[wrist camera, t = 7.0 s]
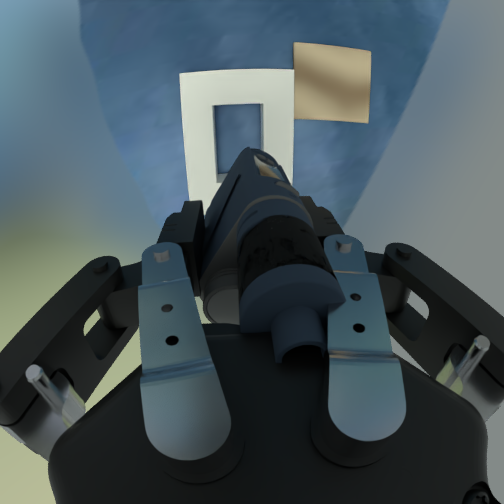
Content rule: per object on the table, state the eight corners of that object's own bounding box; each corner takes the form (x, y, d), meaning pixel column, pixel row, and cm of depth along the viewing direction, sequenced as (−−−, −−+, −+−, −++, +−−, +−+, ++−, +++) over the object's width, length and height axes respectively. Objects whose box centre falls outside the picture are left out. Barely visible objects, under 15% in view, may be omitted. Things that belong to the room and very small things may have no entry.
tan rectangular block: (292, 43, 24) (294, 42, 24) (368, 51, 24) (370, 51, 24) (292, 118, 28) (294, 118, 28) (365, 122, 29) (368, 123, 28)
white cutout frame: (184, 74, 25) (179, 73, 23) (288, 70, 26) (294, 69, 23) (194, 203, 33) (191, 215, 30) (286, 199, 33) (291, 210, 30)
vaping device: (291, 160, 15) (392, 335, 5) (239, 236, 18) (250, 441, 8) (248, 135, 15) (287, 288, 4) (199, 216, 17) (165, 422, 7)
